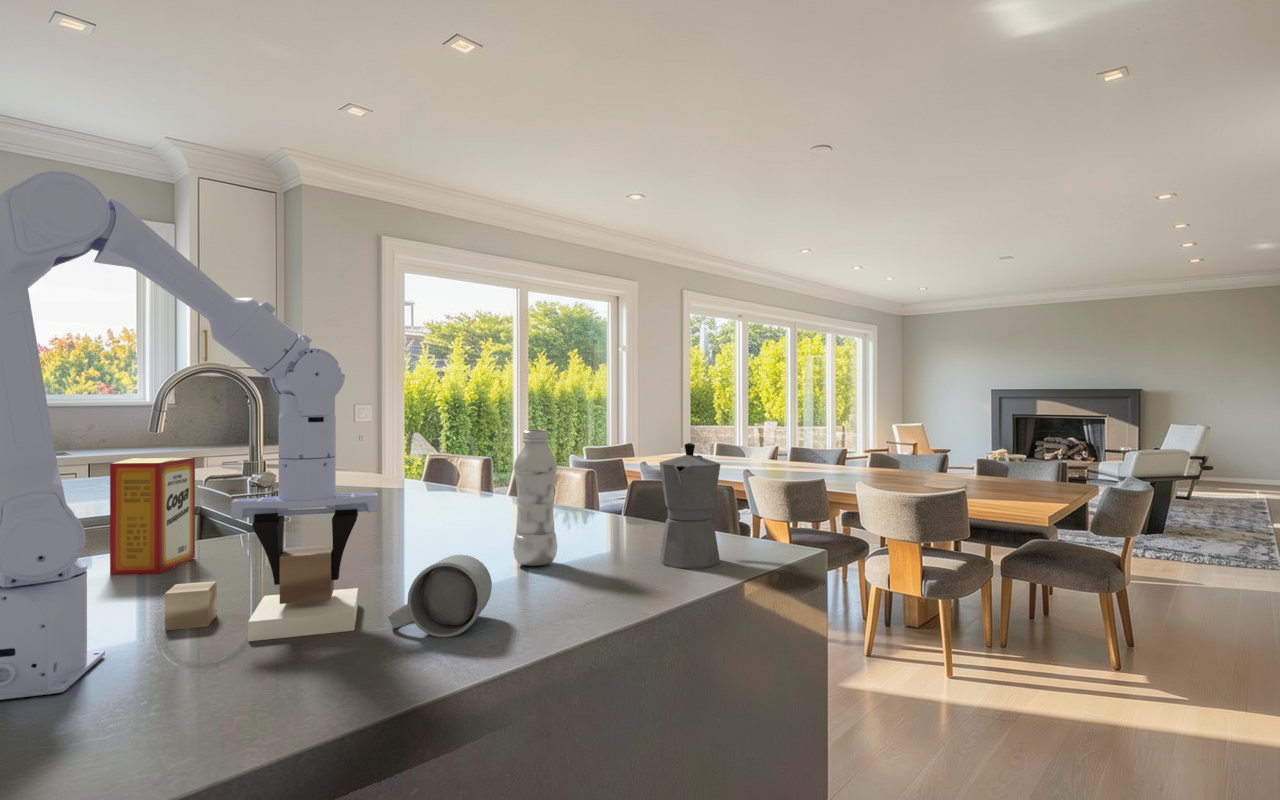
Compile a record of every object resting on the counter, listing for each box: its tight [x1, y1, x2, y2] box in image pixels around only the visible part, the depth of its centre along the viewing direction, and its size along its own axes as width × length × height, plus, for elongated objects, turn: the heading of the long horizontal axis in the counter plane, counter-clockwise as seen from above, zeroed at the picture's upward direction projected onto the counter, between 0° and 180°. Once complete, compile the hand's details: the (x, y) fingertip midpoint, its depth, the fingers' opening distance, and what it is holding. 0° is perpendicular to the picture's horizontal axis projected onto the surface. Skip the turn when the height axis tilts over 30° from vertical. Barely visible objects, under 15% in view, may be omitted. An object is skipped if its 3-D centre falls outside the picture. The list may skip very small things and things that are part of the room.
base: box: [247, 587, 359, 642], centre depth 78 cm, size 10×10×2 cm
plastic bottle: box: [512, 429, 558, 567], centre depth 105 cm, size 6×7×20 cm
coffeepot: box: [659, 442, 722, 570], centre depth 108 cm, size 15×9×18 cm, turn 164°
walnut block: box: [279, 544, 335, 604], centre depth 78 cm, size 5×5×5 cm
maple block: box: [164, 580, 218, 631], centre depth 78 cm, size 4×4×4 cm
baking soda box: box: [109, 457, 196, 576], centre depth 104 cm, size 10×6×16 cm
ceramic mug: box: [387, 554, 493, 638], centre depth 77 cm, size 11×8×8 cm
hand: (307, 580), depth 78 cm, fingers closed on walnut block, 5 cm apart
